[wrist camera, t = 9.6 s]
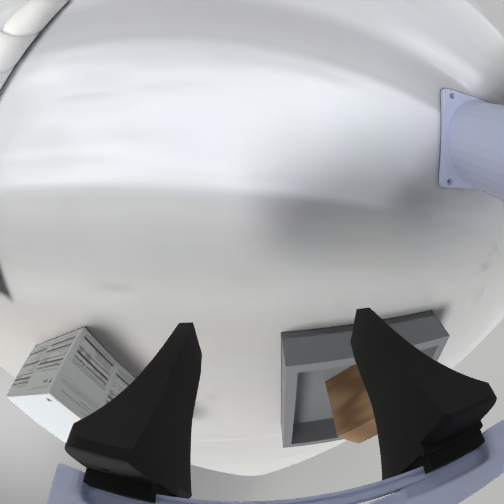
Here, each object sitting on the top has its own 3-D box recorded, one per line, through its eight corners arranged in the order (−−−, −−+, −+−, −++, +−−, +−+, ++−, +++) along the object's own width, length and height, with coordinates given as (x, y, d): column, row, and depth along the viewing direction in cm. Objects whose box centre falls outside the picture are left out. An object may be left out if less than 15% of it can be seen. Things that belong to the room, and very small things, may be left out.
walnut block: (359, 360, 25) (379, 415, 19) (377, 374, 27) (396, 424, 21) (324, 381, 27) (337, 436, 21) (345, 394, 28) (358, 443, 22)
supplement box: (33, 345, 27) (3, 395, 18) (85, 323, 24) (47, 392, 16) (112, 417, 34) (98, 466, 25) (176, 411, 31) (166, 472, 23)
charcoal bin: (431, 310, 24) (449, 335, 20) (389, 404, 32) (397, 425, 29) (280, 332, 24) (285, 366, 21) (280, 423, 32) (283, 447, 29)
